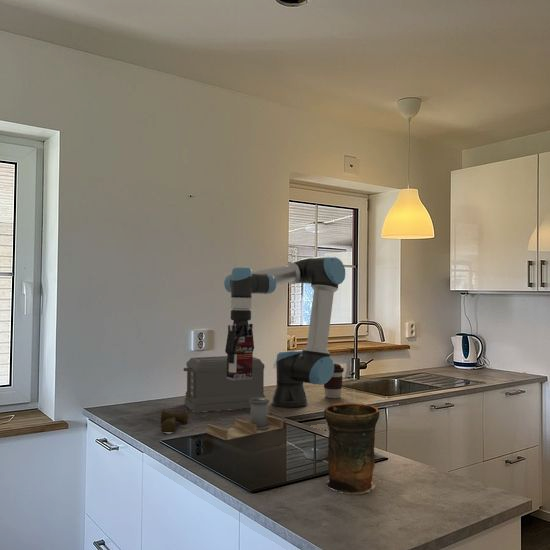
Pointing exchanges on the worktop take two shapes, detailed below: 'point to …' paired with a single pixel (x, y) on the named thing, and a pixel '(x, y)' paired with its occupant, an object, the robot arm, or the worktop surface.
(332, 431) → the vessel
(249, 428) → the oak rack
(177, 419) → the kendama
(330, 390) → the coffee cup
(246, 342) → the supplement box
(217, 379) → the toaster
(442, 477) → the worktop surface
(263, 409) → the light grey cylinder
